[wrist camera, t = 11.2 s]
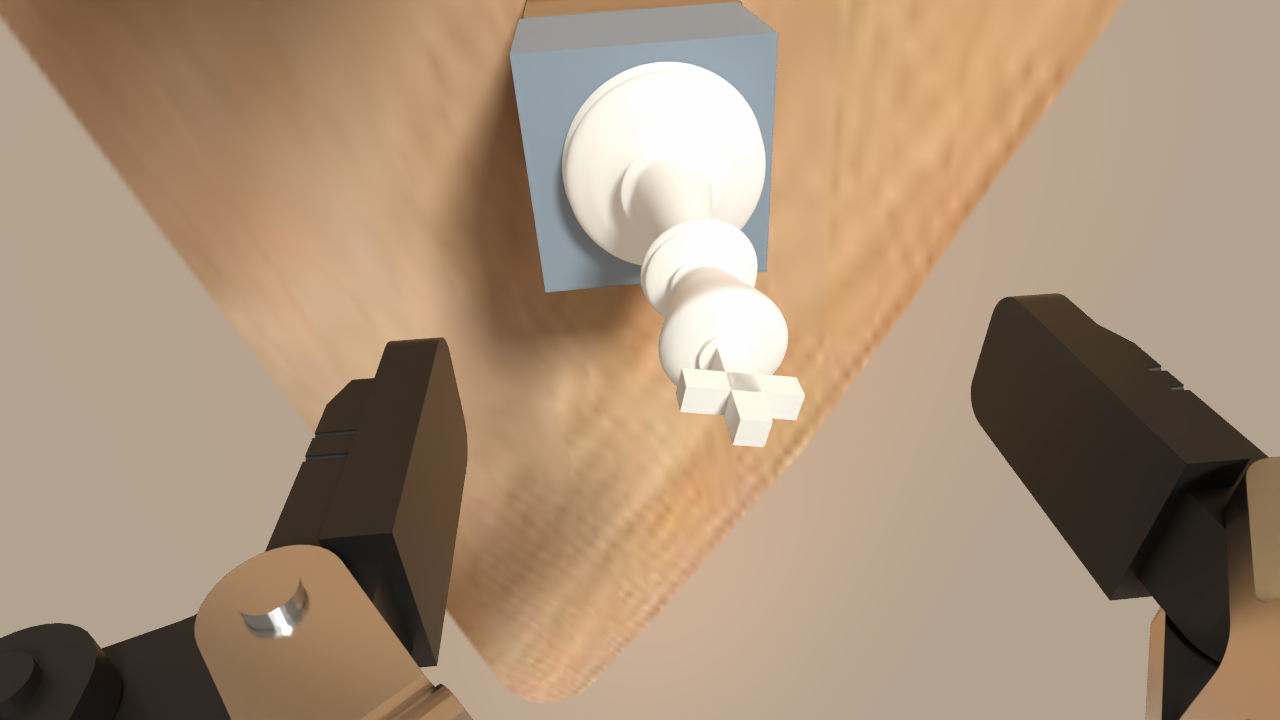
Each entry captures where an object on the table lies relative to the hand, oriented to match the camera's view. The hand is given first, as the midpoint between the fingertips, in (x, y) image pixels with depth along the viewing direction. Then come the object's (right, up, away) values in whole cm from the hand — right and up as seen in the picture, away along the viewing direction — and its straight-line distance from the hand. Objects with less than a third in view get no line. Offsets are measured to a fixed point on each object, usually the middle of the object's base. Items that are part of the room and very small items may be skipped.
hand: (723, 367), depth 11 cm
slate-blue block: (-1, +7, +11) cm, 13 cm away
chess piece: (-1, +5, +7) cm, 9 cm away
